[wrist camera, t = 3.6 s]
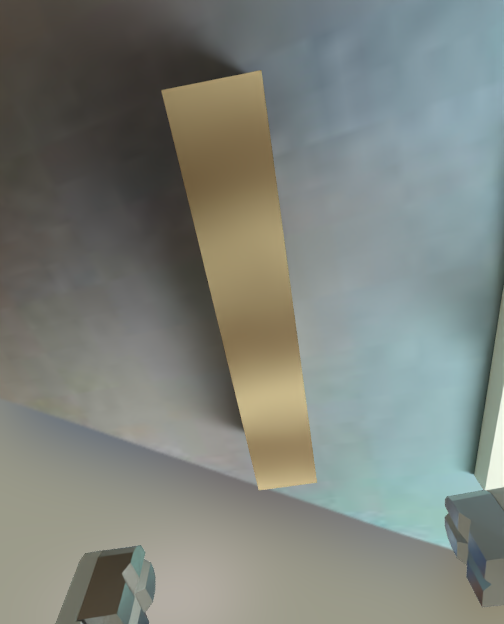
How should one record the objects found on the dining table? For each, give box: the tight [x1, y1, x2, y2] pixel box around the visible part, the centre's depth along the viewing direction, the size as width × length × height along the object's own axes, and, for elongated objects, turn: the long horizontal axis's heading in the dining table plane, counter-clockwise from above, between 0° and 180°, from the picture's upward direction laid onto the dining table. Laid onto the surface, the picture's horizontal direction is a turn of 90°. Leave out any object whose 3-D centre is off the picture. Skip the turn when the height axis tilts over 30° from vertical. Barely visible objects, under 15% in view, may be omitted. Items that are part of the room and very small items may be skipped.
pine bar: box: [161, 70, 317, 490], centre depth 17 cm, size 18×3×4 cm, turn 10°
